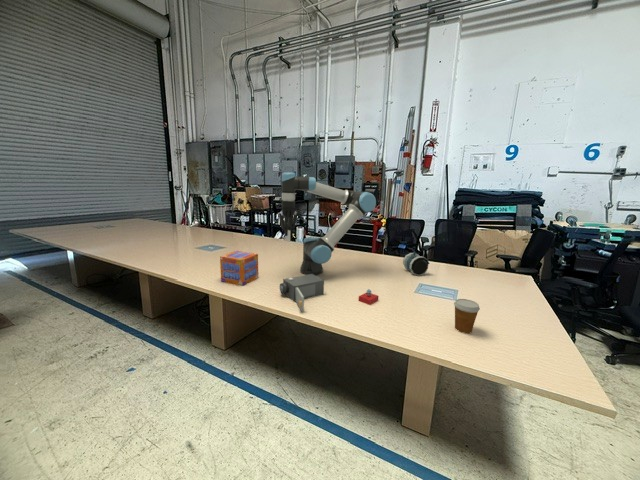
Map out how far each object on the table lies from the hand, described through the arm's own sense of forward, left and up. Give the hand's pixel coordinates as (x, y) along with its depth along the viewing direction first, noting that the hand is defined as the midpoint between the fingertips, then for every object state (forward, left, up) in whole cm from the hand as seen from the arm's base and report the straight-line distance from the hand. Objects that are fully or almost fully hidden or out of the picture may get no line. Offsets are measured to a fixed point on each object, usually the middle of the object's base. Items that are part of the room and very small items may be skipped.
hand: (288, 241), depth 164 cm
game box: (+24, -15, -25) cm, 38 cm away
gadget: (-83, +28, -25) cm, 91 cm away
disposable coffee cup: (-37, +88, -25) cm, 99 cm away
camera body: (+3, +22, -24) cm, 33 cm away
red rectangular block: (-23, +46, -25) cm, 57 cm away
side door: (+12, +34, -24) cm, 43 cm away
